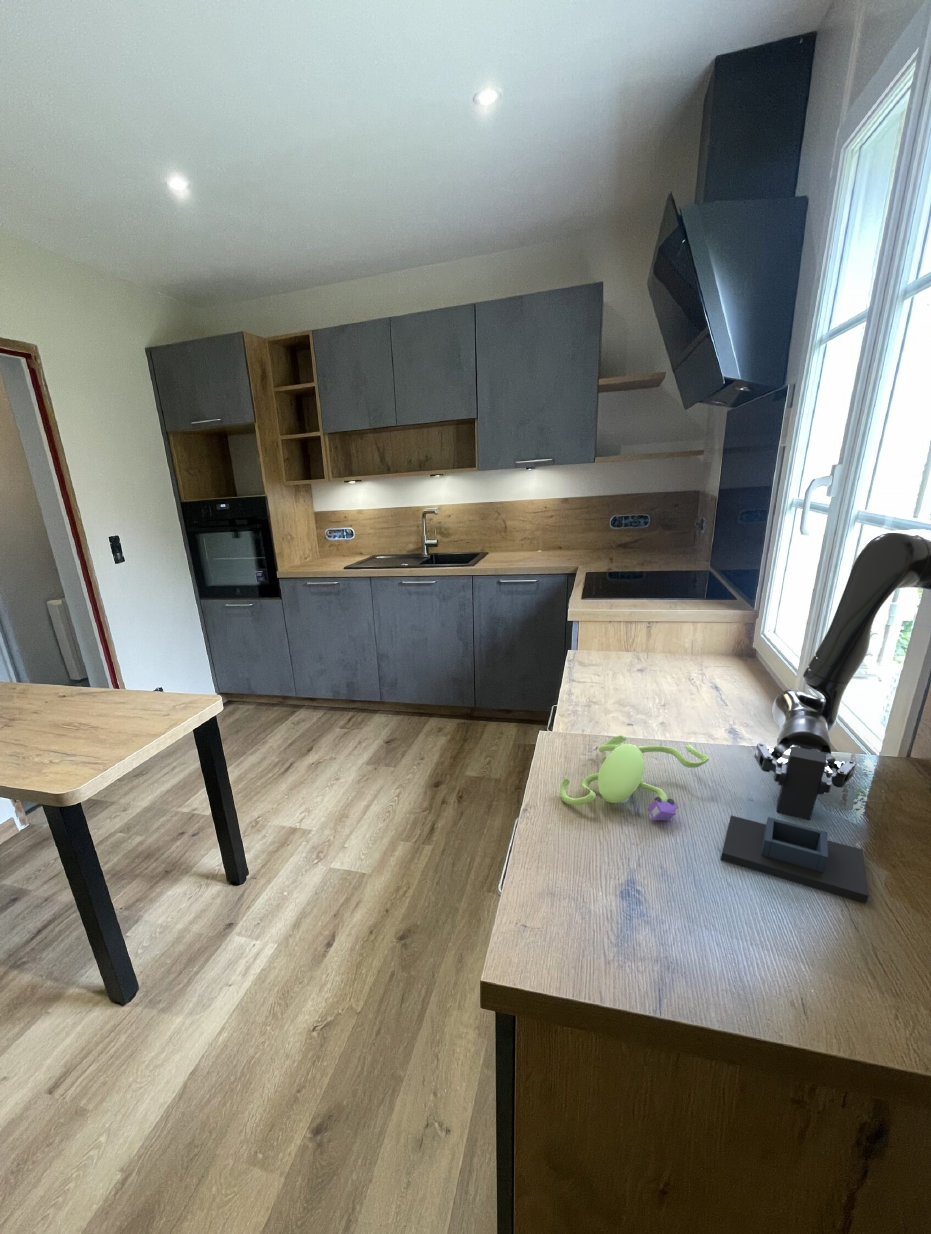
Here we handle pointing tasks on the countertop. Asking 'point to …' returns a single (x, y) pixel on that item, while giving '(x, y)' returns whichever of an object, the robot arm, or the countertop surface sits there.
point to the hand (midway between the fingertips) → (802, 784)
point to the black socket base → (796, 856)
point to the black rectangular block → (801, 782)
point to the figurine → (630, 776)
